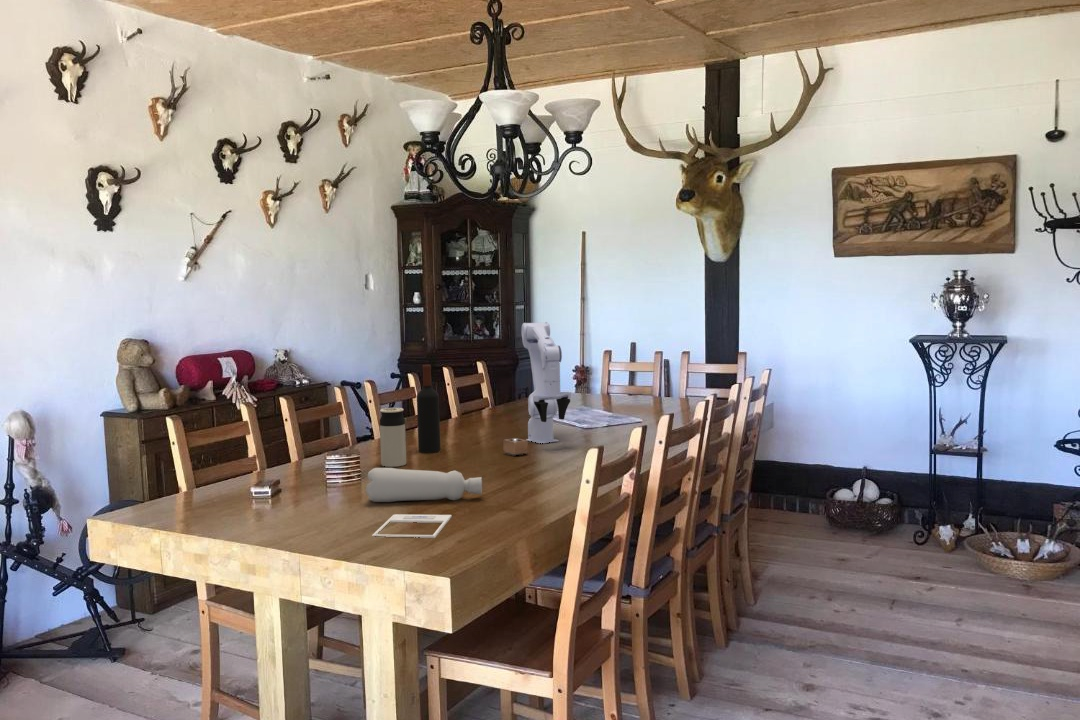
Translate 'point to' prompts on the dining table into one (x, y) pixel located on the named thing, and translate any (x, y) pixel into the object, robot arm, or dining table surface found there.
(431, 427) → the wine bottle
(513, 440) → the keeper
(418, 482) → the bottle
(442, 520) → the photo frame
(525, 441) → the copper rectangular sleeve
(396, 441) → the travel mug
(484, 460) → the dining table surface
